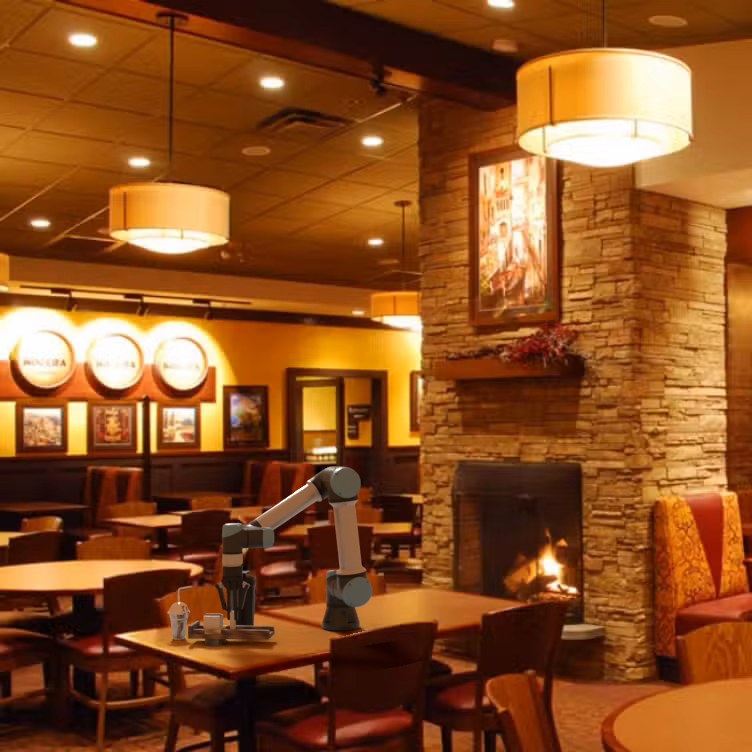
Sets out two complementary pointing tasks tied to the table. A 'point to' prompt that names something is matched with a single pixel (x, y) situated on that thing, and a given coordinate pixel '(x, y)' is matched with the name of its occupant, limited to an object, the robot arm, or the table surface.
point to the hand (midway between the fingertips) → (232, 628)
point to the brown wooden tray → (229, 633)
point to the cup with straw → (179, 617)
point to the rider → (213, 621)
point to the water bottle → (246, 601)
